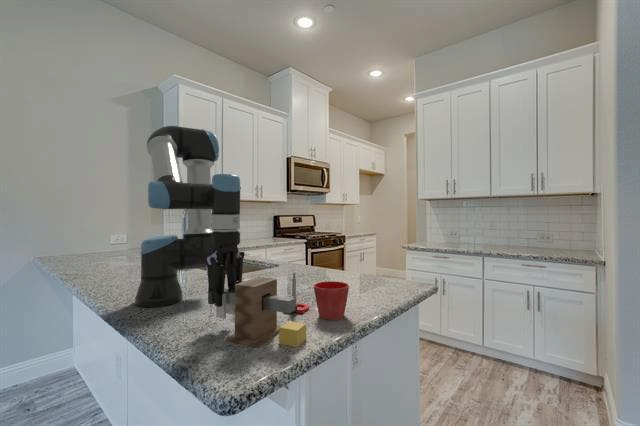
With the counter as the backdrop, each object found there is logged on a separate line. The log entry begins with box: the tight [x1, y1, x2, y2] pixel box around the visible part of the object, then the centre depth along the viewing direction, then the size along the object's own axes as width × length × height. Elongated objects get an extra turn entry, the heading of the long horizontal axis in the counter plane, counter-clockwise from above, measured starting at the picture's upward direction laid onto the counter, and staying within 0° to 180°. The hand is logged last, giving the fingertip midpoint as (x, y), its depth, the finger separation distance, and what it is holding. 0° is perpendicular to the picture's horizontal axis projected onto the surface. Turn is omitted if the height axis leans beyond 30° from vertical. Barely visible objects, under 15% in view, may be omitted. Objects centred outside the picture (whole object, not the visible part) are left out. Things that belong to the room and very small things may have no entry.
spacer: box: [278, 320, 307, 348], centre depth 77 cm, size 5×5×4 cm
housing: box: [225, 276, 283, 348], centre depth 81 cm, size 9×13×14 cm
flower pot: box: [313, 280, 350, 321], centre depth 95 cm, size 11×11×10 cm
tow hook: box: [290, 272, 310, 315], centre depth 102 cm, size 8×13×9 cm
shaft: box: [207, 287, 297, 314], centre depth 81 cm, size 26×4×4 cm, turn 65°
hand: (225, 315), depth 85 cm, fingers closed on shaft, 3 cm apart
